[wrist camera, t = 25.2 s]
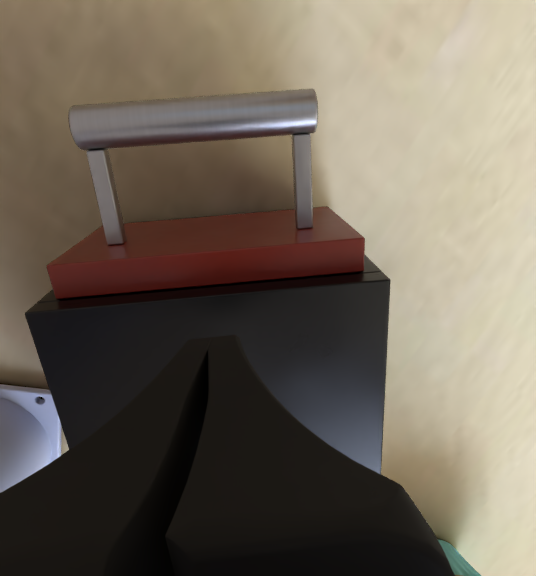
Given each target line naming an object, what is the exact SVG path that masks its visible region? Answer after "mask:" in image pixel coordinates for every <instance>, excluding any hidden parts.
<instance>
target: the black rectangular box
mask: <svg viewBox="0 0 536 576" xmlns="http://www.w3.org/2000/svg"><path fill="white" fill-rule="evenodd" d="M389 297H390V279H389V278H388V277H387V276H386V275H385V274H384V273H383V272H382V271H381V270H380V269H379V268H378V267H377V266H376V265H375V264H374V263H373V262H372V261H371V260H370V259H369V258H368V257H367V256H366V255H365V254H364V271H361V272H350V273H339V274H328V275H324V277H320V278H309V279H298V280H287V281H276V282H265V283H254V284H243V285H232V286H221V287H210V288H199V289H188V290H177V291H166V292H155V293H144V294H133V295H122V296H115V294H107V295H96V296H85V297H74V298H63V299H56V297H55V294H54V291H53V289H52V290H51V291H50V292H49V293H48V294H46V295H45V296H44V297H43V298H42V299H41V300H39V301H38V302H37V303H36V304H35V305H34V306H32V307H31V308H30V309H29V310H28V311H27V312H25V316H26V319H27V322H28V325H29V328H30V331H31V334H32V337H33V340H34V344H35V347H36V350H37V353H38V356H39V359H40V362H41V365H42V368H43V371H44V374H45V377H46V380H47V383H48V386H49V389H50V392H51V395H52V398H53V401H54V404H55V407H56V410H57V413H58V416H59V419H60V422H61V425H62V428H63V431H64V434H65V437H66V440H67V444H68V447H69V450H70V449H71V448H73V447H74V446H76V445H77V444H79V443H80V442H82V441H83V440H84V439H86V438H87V437H89V436H90V435H91V434H93V433H94V432H95V431H97V430H98V429H99V428H100V427H102V426H103V425H104V424H105V423H107V422H108V421H109V420H110V419H112V418H113V417H114V416H115V415H116V414H118V413H119V412H120V411H121V410H122V409H123V408H125V407H126V406H127V405H128V404H129V403H130V402H131V401H132V400H133V399H134V398H135V397H136V396H137V395H138V394H139V393H140V392H141V391H142V390H143V389H144V388H145V387H146V386H147V385H148V384H149V383H150V382H151V381H152V380H153V379H154V378H155V377H156V376H157V375H158V374H159V373H160V372H161V371H162V370H163V368H164V367H165V366H166V365H167V364H168V363H169V362H170V360H171V359H172V358H173V357H174V356H175V355H176V353H177V352H178V351H179V350H180V349H181V348H182V347H183V345H184V344H185V343H186V342H187V341H188V340H190V339H200V338H210V337H219V336H229V335H237V336H238V337H239V338H240V339H241V345H242V348H243V350H244V352H245V354H246V356H247V358H248V360H249V362H250V363H251V365H252V367H253V368H254V370H255V371H256V373H257V374H258V376H259V377H260V379H261V380H262V381H263V383H264V384H265V385H266V386H267V388H268V389H269V390H270V391H271V393H272V394H273V395H274V396H275V397H276V398H277V400H278V401H279V402H280V403H281V404H282V405H283V406H284V407H285V408H286V409H287V410H288V411H289V412H290V413H291V414H292V415H293V416H294V417H295V418H296V419H298V420H299V421H300V422H301V423H302V424H303V425H304V426H305V427H307V428H308V429H309V430H310V431H312V432H313V433H314V434H316V435H317V436H318V437H320V438H321V439H322V440H324V441H325V442H326V443H328V444H329V445H330V446H332V447H333V448H335V449H336V450H338V451H339V452H341V453H343V454H344V455H346V456H347V457H349V458H351V459H352V460H354V461H356V462H358V463H359V464H361V465H363V466H365V467H367V468H369V469H371V470H373V471H375V472H377V473H379V474H381V461H382V440H383V420H384V399H385V379H386V359H387V338H388V318H389Z"/></svg>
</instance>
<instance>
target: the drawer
mask: <svg viewBox="0 0 536 576" xmlns="http://www.w3.org/2000/svg"><path fill="white" fill-rule="evenodd" d="M317 123H318V102H317V96H316V92H315V90H314V89H299V90H285V91H271V92H257V93H243V94H229V95H214V96H200V97H186V98H172V99H158V100H144V101H130V102H116V103H102V104H88V105H74V106H72V107H70V109H69V126H70V130H71V134H72V137H73V139H74V141H75V143H76V145H77V146H78V147H79V148H80V149H81V150H84V151H85V150H88V151H87V157H88V162H89V166H90V171H91V175H92V179H93V184H94V188H95V193H96V197H97V201H98V206H99V210H100V215H101V219H102V223H103V226H101V227H100V228H98V229H97V230H95V231H94V232H93V233H91V234H90V235H88V236H87V237H86V238H84V239H83V240H82V241H80V242H79V243H77V244H76V245H75V246H73V247H72V248H70V249H69V250H68V251H66V252H65V253H63V254H62V255H61V256H59V257H58V258H56V259H55V260H54V261H52V262H51V263H50V264H48V265H47V270H48V273H49V277H50V280H51V284H52V287H53V291H54V294H55V297H56V299H63V298H74V297H85V296H96V295H107V294H115V296H122V295H133V294H144V293H155V292H166V291H177V290H188V289H199V288H210V287H221V286H232V285H243V284H254V283H265V282H276V281H287V280H298V279H309V278H320V277H324V275H328V274H339V273H350V272H361V271H364V247H365V238H364V237H363V236H362V235H360V234H359V233H358V232H357V231H356V230H355V229H353V228H352V227H351V226H350V225H349V224H347V223H346V222H345V221H344V220H343V219H342V218H340V217H339V216H338V215H337V214H336V213H335V212H333V211H332V210H331V209H330V208H329V207H316V208H313V205H312V168H311V135H310V133H314V132H315V131H316V128H317ZM284 135H292V158H293V181H294V204H295V209H292V210H280V211H268V212H256V213H244V214H232V215H220V216H208V217H196V218H184V219H172V220H160V221H148V222H136V223H123V218H122V213H121V209H120V204H119V199H118V194H117V189H116V184H115V180H114V175H113V170H112V165H111V160H110V156H109V151H108V149H112V148H125V147H138V146H151V145H165V144H178V143H191V142H204V141H218V140H231V139H244V138H257V137H270V136H284Z"/></svg>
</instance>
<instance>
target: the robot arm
mask: <svg viewBox="0 0 536 576" xmlns="http://www.w3.org/2000/svg"><path fill="white" fill-rule="evenodd" d="M38 396H40V397H43V398H44V400H42V399H40V398H39V397H38ZM0 576H455V574H454V572H453V570H452V568H451V566H450V563H449V561H448V558H447V556H446V554H445V552H444V550H443V548H442V546H441V545H440V543H439V541H438V539H437V538H436V536H435V534H434V533H433V531H432V530H431V528H430V526H429V525H428V523H427V522H426V520H425V519H424V517H423V516H422V514H421V513H420V511H419V510H418V508H417V507H416V505H415V504H414V502H413V501H412V500H411V498H410V497H409V495H408V494H407V492H406V491H405V490H404V488H403V487H402V486H401V485H400V484H398V483H396V482H394V481H392V480H390V479H388V478H387V477H385V476H383V475H381V474H379V473H377V472H375V471H373V470H371V469H369V468H367V467H365V466H363V465H361V464H359V463H358V462H356V461H354V460H352V459H351V458H349V457H347V456H346V455H344V454H343V453H341V452H339V451H338V450H336V449H335V448H333V447H332V446H330V445H329V444H328V443H326V442H325V441H324V440H322V439H321V438H320V437H318V436H317V435H316V434H314V433H313V432H312V431H310V430H309V429H308V428H307V427H305V426H304V425H303V424H302V423H301V422H300V421H299V420H298V419H296V418H295V417H294V416H293V415H292V414H291V413H290V412H289V411H288V410H287V409H286V408H285V407H284V406H283V405H282V404H281V403H280V402H279V401H278V400H277V398H276V397H275V396H274V395H273V394H272V393H271V391H270V390H269V389H268V388H267V386H266V385H265V384H264V383H263V381H262V380H261V379H260V377H259V376H258V374H257V373H256V371H255V370H254V368H253V367H252V365H251V363H250V362H249V360H248V358H247V356H246V354H245V352H244V350H243V348H242V345H241V339H240V338H239V337H238V336H237V335H229V336H219V337H210V338H200V339H190V340H188V341H187V342H186V343H185V344H184V345H183V347H182V348H181V349H180V350H179V351H178V352H177V353H176V355H175V356H174V357H173V358H172V359H171V360H170V362H169V363H168V364H167V365H166V366H165V367H164V368H163V370H162V371H161V372H160V373H159V374H158V375H157V376H156V377H155V378H154V379H153V380H152V381H151V382H150V383H149V384H148V385H147V386H146V387H145V388H144V389H143V390H142V391H141V392H140V393H139V394H138V395H137V396H136V397H135V398H134V399H133V400H132V401H131V402H130V403H129V404H128V405H127V406H126V407H125V408H123V409H122V410H121V411H120V412H119V413H118V414H116V415H115V416H114V417H113V418H112V419H110V420H109V421H108V422H107V423H105V424H104V425H103V426H102V427H100V428H99V429H98V430H97V431H95V432H94V433H93V434H91V435H90V436H89V437H87V438H86V439H84V440H83V441H82V442H80V443H79V444H77V445H76V446H74V447H73V448H71V449H70V450H68V451H67V452H66V453H64V454H63V455H61V422H60V419H59V416H58V413H57V410H56V407H55V404H54V401H53V398H52V395H51V392H50V390H48V389H39V388H30V387H21V386H12V385H3V384H0Z"/></svg>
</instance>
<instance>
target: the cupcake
mask: <svg viewBox="0 0 536 576" xmlns="http://www.w3.org/2000/svg"><path fill="white" fill-rule="evenodd" d="M438 541H439V543H440V545H441V546H442V548H443V550H444V552H445V554H446V556H447V558H448V561H449V563H450V566H451V568H452V570H453V572H454V574H455V576H481V575H480V574H479V573H478V572H477V571H476V570H475V569H474V568H473V567H472V566H471V565H470V564H469V563H468V562H467V561H466V560H465V559H464V558H463V557H462V556H461V555H460V554H459V552H458V551H457V550H456V549H455V548H454V547H453V546H452V545H451V544H450V543H448V542H446V541H443V540H438Z"/></svg>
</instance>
